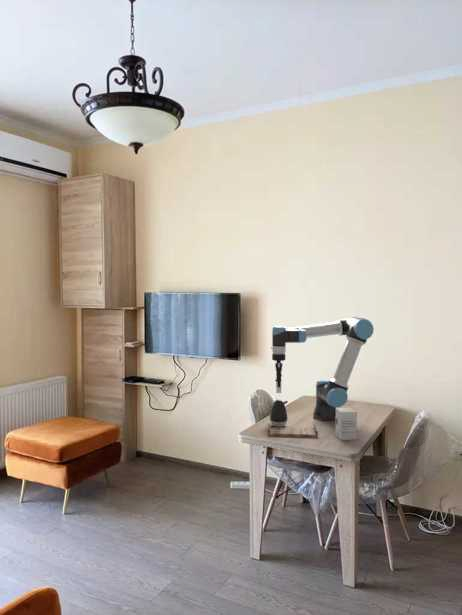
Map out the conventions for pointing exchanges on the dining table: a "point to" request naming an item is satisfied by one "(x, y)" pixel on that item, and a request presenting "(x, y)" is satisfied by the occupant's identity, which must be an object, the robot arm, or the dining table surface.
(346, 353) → the robot arm
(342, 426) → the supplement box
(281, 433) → the ledge board
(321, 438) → the dining table surface
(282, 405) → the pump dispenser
